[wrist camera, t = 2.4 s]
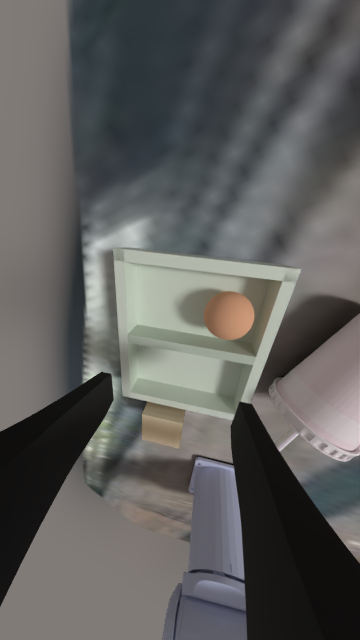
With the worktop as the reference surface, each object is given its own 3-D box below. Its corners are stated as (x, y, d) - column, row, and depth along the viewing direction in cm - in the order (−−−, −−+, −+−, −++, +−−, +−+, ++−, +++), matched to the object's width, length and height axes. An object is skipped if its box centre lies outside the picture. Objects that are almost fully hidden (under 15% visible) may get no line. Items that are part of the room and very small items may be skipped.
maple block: (184, 413, 21) (179, 448, 17) (153, 406, 21) (142, 439, 18) (188, 390, 19) (182, 423, 16) (154, 383, 20) (142, 414, 16)
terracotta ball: (242, 330, 14) (251, 353, 11) (201, 323, 15) (199, 344, 12) (254, 289, 13) (268, 303, 10) (208, 283, 13) (207, 295, 10)
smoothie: (581, 372, 6) (320, 519, 12) (431, 330, 12) (301, 442, 17) (386, 293, 8) (236, 450, 13) (335, 289, 14) (243, 401, 19)
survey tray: (238, 398, 18) (242, 422, 16) (134, 376, 20) (122, 395, 17) (283, 264, 13) (301, 269, 10) (130, 247, 14) (112, 247, 11)
